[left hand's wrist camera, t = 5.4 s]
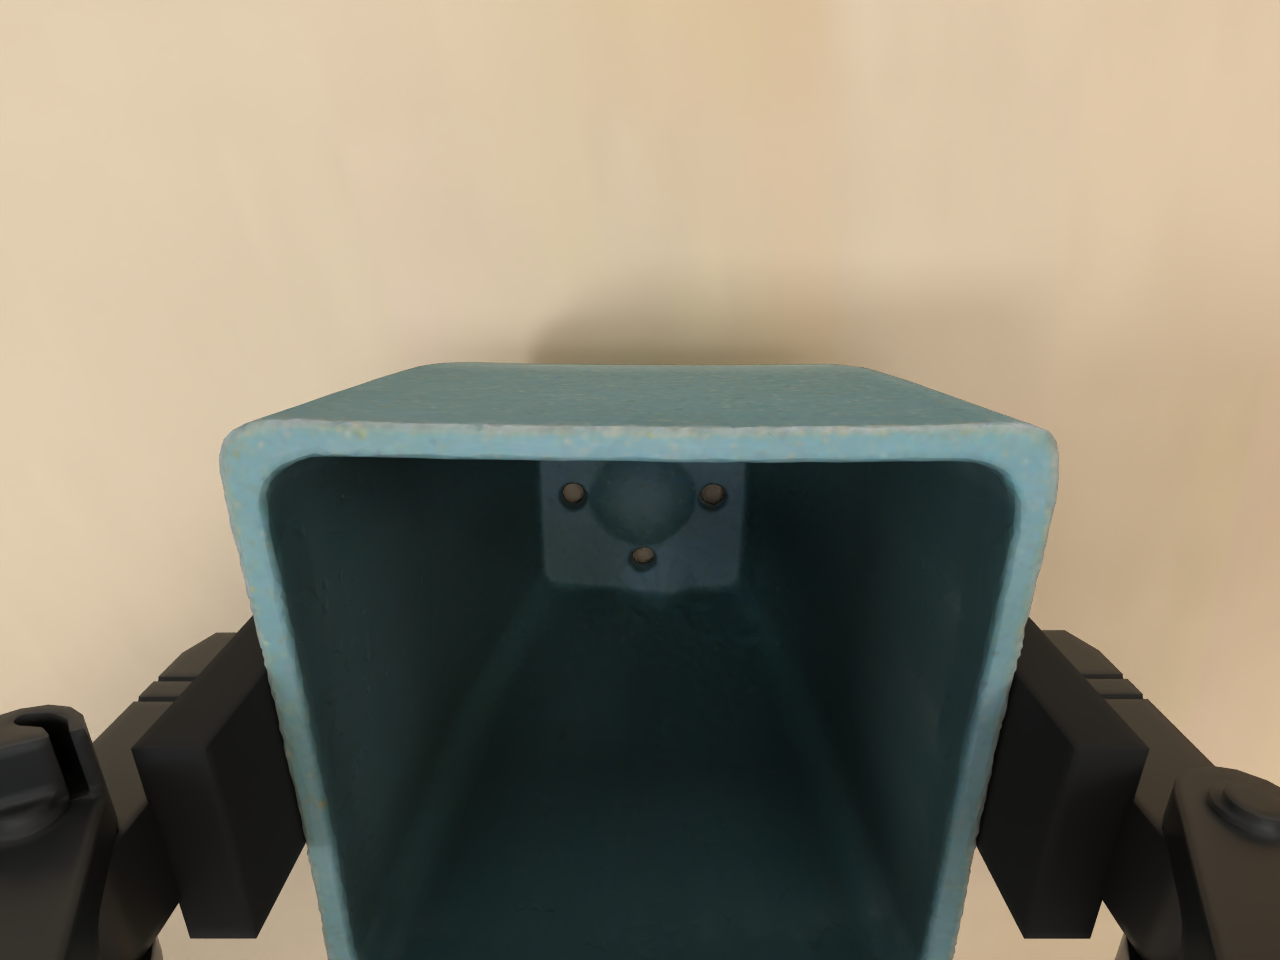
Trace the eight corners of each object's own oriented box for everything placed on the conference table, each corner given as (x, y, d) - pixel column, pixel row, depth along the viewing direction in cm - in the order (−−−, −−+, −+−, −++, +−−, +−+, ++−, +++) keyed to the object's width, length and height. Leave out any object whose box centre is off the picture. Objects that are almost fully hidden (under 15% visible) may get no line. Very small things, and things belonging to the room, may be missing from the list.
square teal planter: (467, 651, 19) (331, 1016, 11) (432, 301, 16) (197, 423, 7) (810, 651, 19) (946, 1014, 11) (844, 301, 16) (1078, 423, 7)
